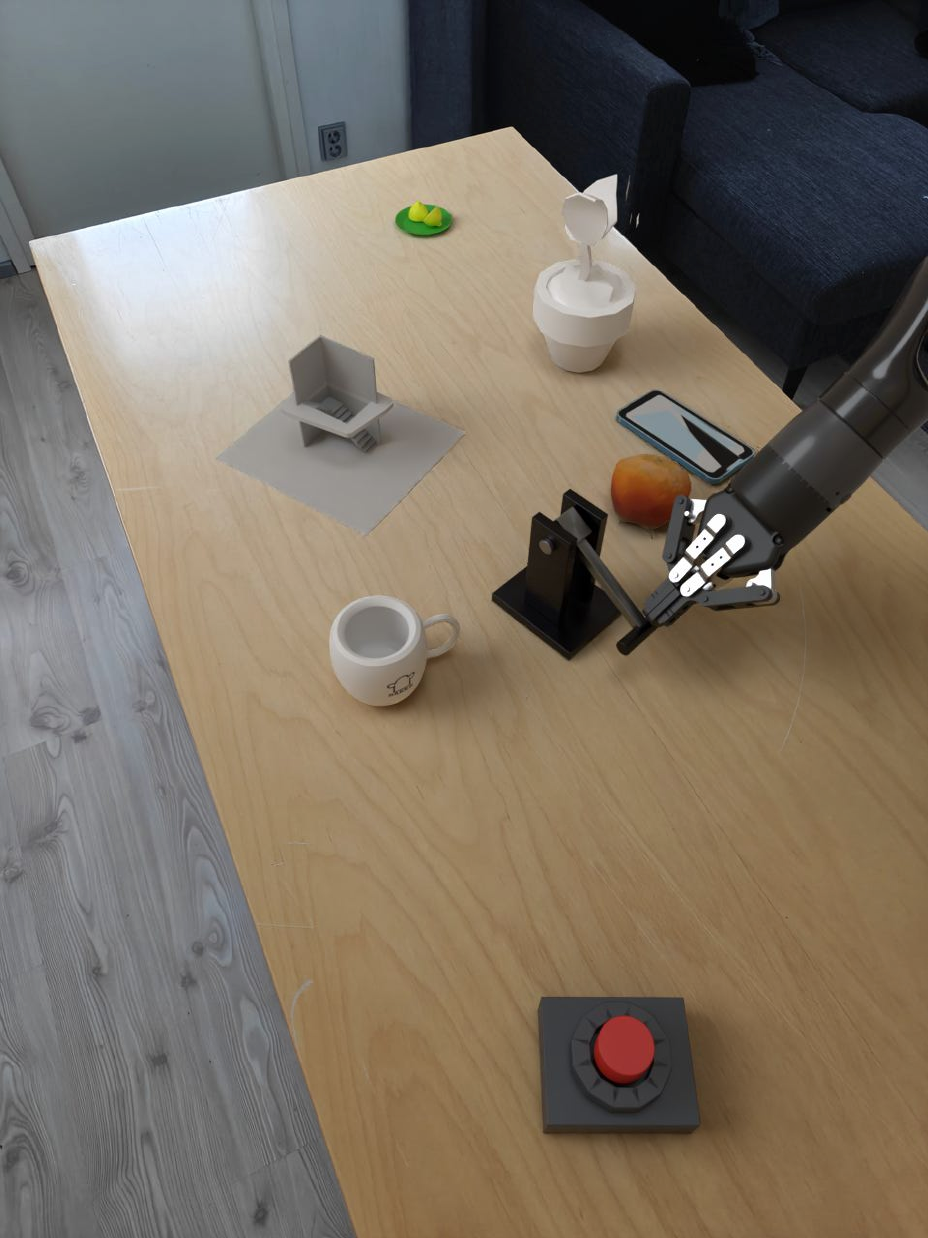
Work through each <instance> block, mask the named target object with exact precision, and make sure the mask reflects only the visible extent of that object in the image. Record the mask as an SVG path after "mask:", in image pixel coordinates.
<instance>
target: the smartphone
mask: <svg viewBox="0 0 928 1238" xmlns="http://www.w3.org/2000/svg"><path fill="white" fill-rule="evenodd" d="M615 418H616V421H617V422H618V423H619V424H621V425H622V426H624V427H625V428H627V429H628V430H630V431H632V432H633V433H634V434H636V435H637V436H639V437H640V438H642V439H643V440H645V441H646V442H648V443H649V444H651V445H652V446H653V447H655V448H656V449H658V450H660V451H661V452H662V453H664V455H667V456H668V457H669V458H671V459H672V460H674V461H675V462H677V463H679V464H680V465H681V466H682V467H684V468H686V469H687V470H689V471H690V472H692V473H693V474H695V475H696V476H698V477H699V478H701V479H702V480H704V481H705V482H706V483H709V484H713V485H714V484H715V485H716V484H720V483H721V482H723V481H724V480H726V479H727V478H729V477H731V476H732V475H733V474H734V473H736V472H738V470H739V471H740V470H741V469H742V468H743V467H744V466H745V465H746V464H747V463H748V462H749V461H750V460H751V459H752V458H753V457H754V456H755V454H756V453H755V450H754V449H753V447H751V446H749V445H748V444H747V443H745V442H744V441H742V440H740V439H738V437H735V436H734V435H732V434H731V433H729V432H728V431H727V430H725V429H723V428H721V427H720V426H718V425H716V424H715V423H714V422H712V421H710V420H709V419H707V418H706V417H704V416H703V415H701V414H699V413H698V412H696V411H695V410H693V409H691V408H690V407H688V406H687V405H685V404H683V402H680V401H679V400H677V399H676V398H674V397H672V396H671V395H669V394H668V393H666V392H665V391H663V390H661V389H656V388H655V389H651V390H649V391H647V392H646V393H644V394H642V395H641V396H639V397H637V398H635V399H634V400H632V401H630V402H629V403H627V404H626V405H624V406H623V407H621V408H619V409H618V410H617V412H616V417H615Z"/></svg>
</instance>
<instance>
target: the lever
mask: <svg viewBox="0 0 928 1238" xmlns="http://www.w3.org/2000/svg"><path fill="white" fill-rule="evenodd" d="M553 521H554V522H555V523H557V524H558V525H559V526H561V527H562V528H564V529H565V530H566V531H568V532H569V533H571V534H572V535H574V536H575V537H576V538H578V540H577V547H576V554H577V556H578V557H579V558H580V560H581V561H582V562H583V564H584V565H585V566H586V567H587V569H588V570H589V571H590V573H591V574H592V575H593V577H594V578H595V579H596V581H595V582H596V583H598V584H599V586H600V588H601V589H602V590H604V591H605V592H606V594H607V595H608V596H609V598H610V599H611V600H612V602H613V603H614V604H615V606H616V607H617V608H618V610H619V611H620V612H621V616H622V617H624V619H625V620H626V622H627V623H628V624H629V626H630V627H631V628H632V629H630V630H629V631H628V632H627V633H626V634H625V635H623V637H622V638H620V639H619V640H618V641H617V642H616V643H615V647H616V649H617V651H618V653H620V654H621V655H623V656H625V657H626V656H629V655H630V654H631V653H633V651H635V649H637V648H638V647H639V646H640V645H641V644H642V643H644V642H645V640H647V639H648V638H649V637H650V636H651V635H652V634H653V633H655V631H656V630H658V629H659V628H660V627H657V626H654V625H651V623H650V622H649V621H648V620H647V618H646V617H645V616H644V615H643V613H642V610H640V609H639V608H638V606H637V605H636V604H635V602H634V600H632V598H631V597H630V595H629V594H628V593H627V591H626V590H625V589H624V588H623V586H622V585H621V584H620V583H619V581H618V579H616V577H615V576H614V574H613V573H612V572H611V571H610V569H609V567H607V565H606V564H605V563H604V562H603V560H602V559H601V556H600V557H599V556H598V555H597V553H596V552H595V551H594V550H593V548H592V547H591V546H590V544H589V543H588V542H587V540H586V539H585V537H586V536H588V535H589V534H590V533H591V532H592V531H591V529H590V528H589V527H588V525H587V524H586V523H585V521H584V520H583V519H582V518H581V516H580V515H579V514H578V512H577V511H576V510H575V508H574V507H571V508H570V509H568V510H567V511H566V512H564V513H563V514H562V515H560V514H559V516H558V517H556V518H555V519H554V520H553Z"/></svg>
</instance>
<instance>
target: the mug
mask: <svg viewBox="0 0 928 1238" xmlns="http://www.w3.org/2000/svg"><path fill="white" fill-rule="evenodd" d="M440 623H447V624H449V625H450V626H451V634H450V636H449V638H448V639H447V640H446V642H445V643H443V644H441V645H440V646H437V647H435V648H432V649H428V637H427V633H426V629H428V628H431V627H432V626H434V625H436V624H440ZM460 634H461V626H460V622H459V621H458V619H457V618H455V617H454V616H453V615H451V614H447V613H441V614H435V615H432V616H431V617H428V618H426V619H424V620H422V618H421V617H420V616H419V614H418V613H417V612H416V611H415V609H413V608H412V606H410V605H409V604H408V603H407V602H405V601H404V600H402V599H400V598H397V597H394V596H390V595H383V594H374V595H368V596H364V597H360V598H358V599H355V600H353V601H352V602H350V603H348V604H347V605H346V606H344V607H343V608H342V609H341V610H340V612H339V613H338V614H337V616H336V617H335V619H334V621H333V622H332V625H331V627H330V631H329V642H328V643H329V644H328V649H329V657H330V663H331V665H332V669H333V671H334V674H335V676H336V678H337V680H338V681H339V683H340V685H341V686H342V687H343V688H344V689H345V691H346V692H347V693H348V695H350V696H351V697H353V698H355V700H357V701H359V702H360V703H362V704H365V705H368V706H373V707H388V706H393V705H395V704H398V703H400V702H402V701H403V700H405V699H407V698H408V697H409V696H410V695H411V694H412V693H413V692H414V691H415V689H417V687H418V685H419V684H420V682H421V680H422V678H423V676H424V672H425V670H426V667H427V661H428V659H430V658H435V657H438V656H441V655H443V654H444V653H446V652H448V651H450V650H451V649H452V648H453V647H454V646H455V645H456V643H457V642H458V640H459V638H460Z"/></svg>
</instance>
